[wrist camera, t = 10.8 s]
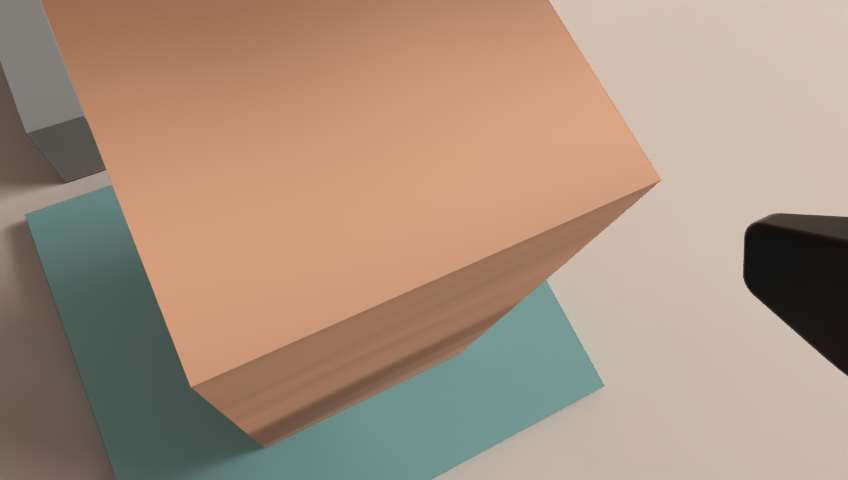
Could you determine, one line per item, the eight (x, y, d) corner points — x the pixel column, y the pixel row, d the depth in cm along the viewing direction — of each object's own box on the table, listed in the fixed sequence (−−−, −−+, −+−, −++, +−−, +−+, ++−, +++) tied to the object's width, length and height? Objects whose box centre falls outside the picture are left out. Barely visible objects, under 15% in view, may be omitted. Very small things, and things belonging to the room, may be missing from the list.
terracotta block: (459, 354, 16) (661, 179, 7) (264, 448, 15) (190, 387, 5) (373, 181, 17) (445, -163, 8) (185, 253, 16) (14, -67, 7)
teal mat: (598, 388, 17) (604, 385, 16) (168, 618, 14) (165, 622, 13) (431, 84, 19) (433, 76, 19) (31, 220, 16) (24, 214, 16)
